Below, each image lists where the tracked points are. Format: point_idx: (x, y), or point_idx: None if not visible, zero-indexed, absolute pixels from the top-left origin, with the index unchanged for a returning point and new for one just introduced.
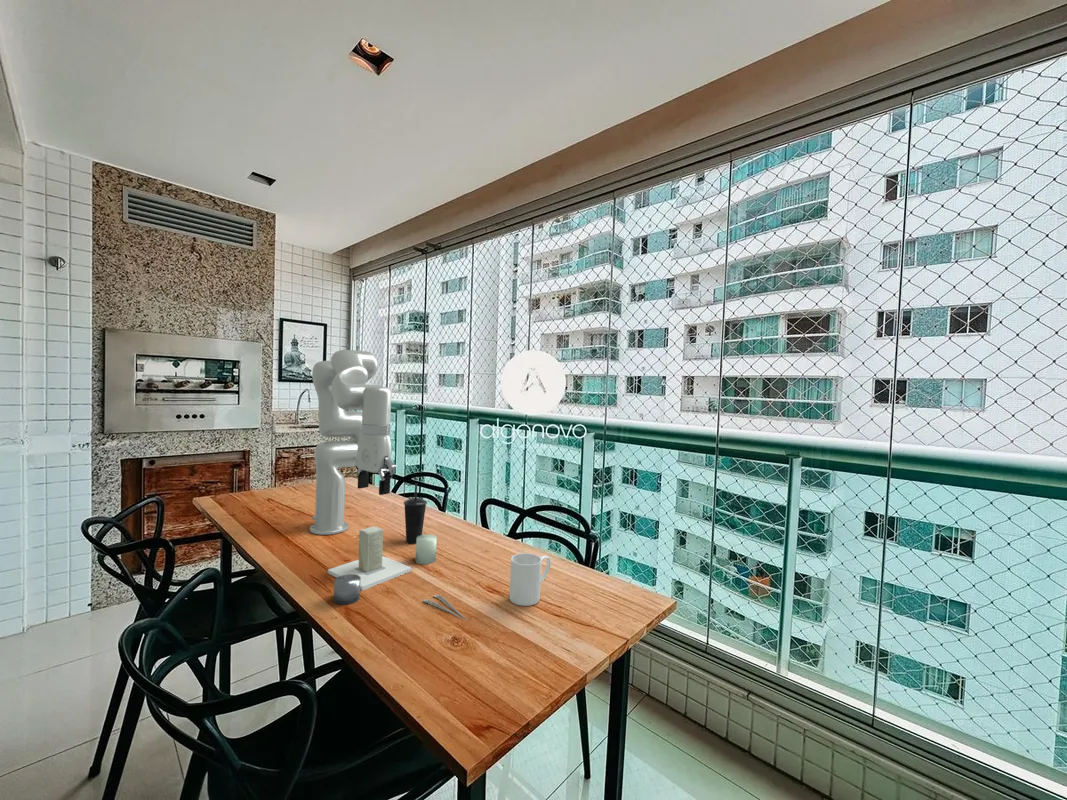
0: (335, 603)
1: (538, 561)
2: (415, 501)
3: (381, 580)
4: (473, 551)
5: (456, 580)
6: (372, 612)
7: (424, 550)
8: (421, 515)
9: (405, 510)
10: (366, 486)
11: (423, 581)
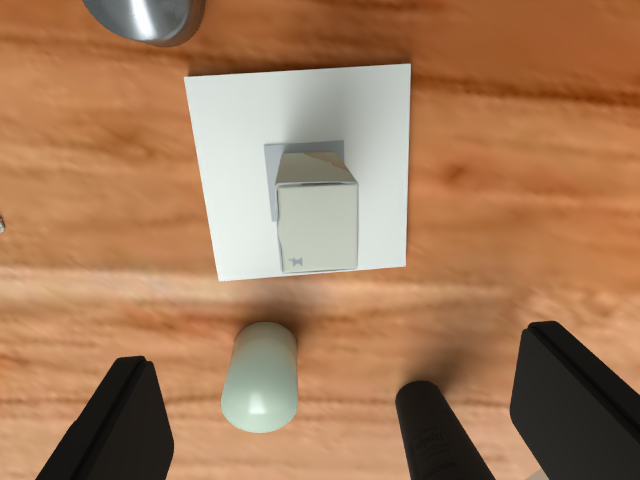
0: None
1: None
2: None
3: (198, 159)
4: (226, 468)
5: (73, 330)
6: (4, 8)
7: (236, 358)
8: None
9: (477, 475)
10: (516, 404)
11: (127, 260)
